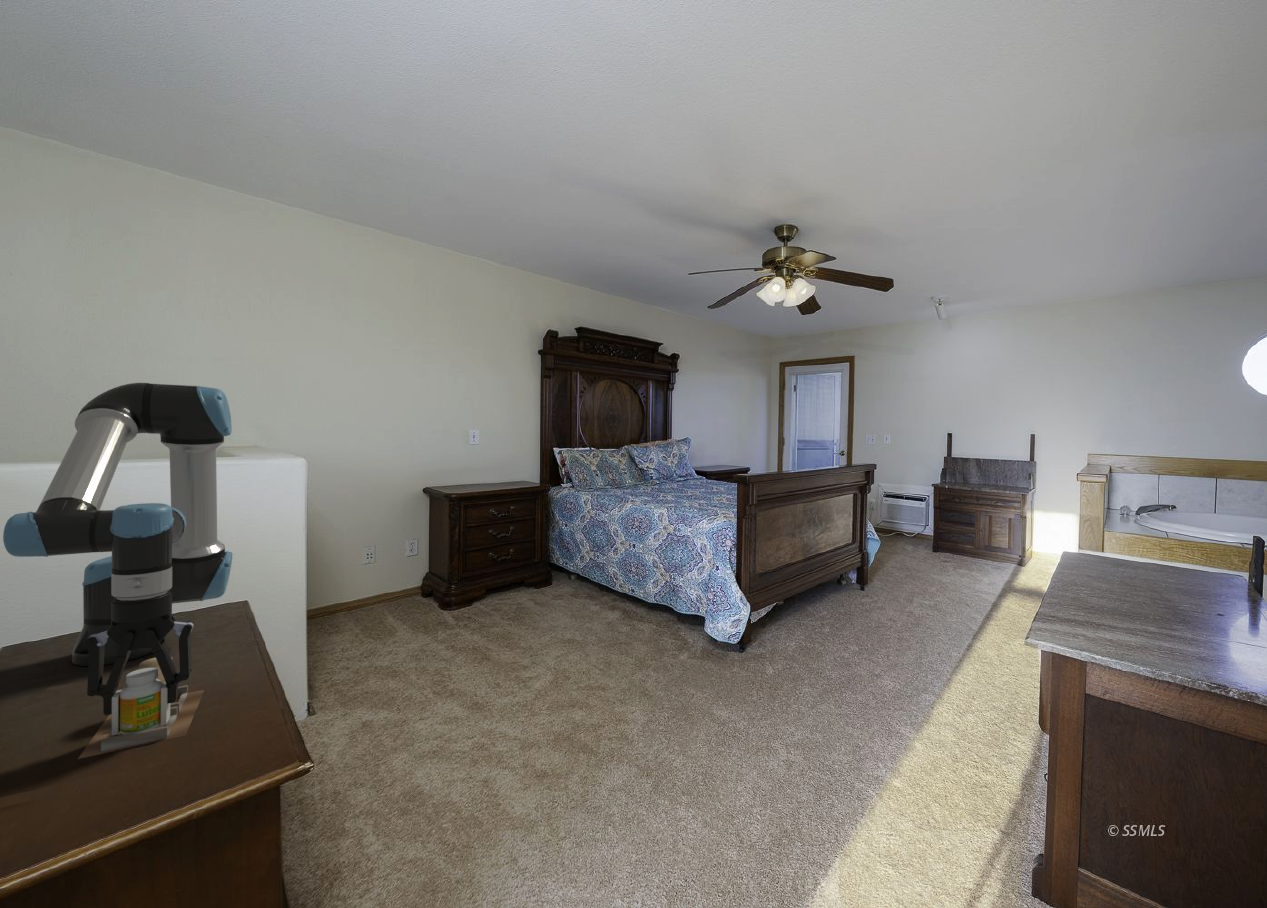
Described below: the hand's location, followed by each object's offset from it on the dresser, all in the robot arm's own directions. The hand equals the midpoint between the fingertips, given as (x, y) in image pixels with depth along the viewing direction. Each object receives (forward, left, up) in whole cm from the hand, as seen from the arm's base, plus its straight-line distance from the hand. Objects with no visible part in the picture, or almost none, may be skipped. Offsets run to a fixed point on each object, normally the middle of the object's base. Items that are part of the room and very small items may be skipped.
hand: (141, 725), depth 88 cm
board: (-4, 0, -2) cm, 5 cm away
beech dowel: (-9, 0, -1) cm, 9 cm away
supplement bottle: (0, 0, -1) cm, 1 cm away
